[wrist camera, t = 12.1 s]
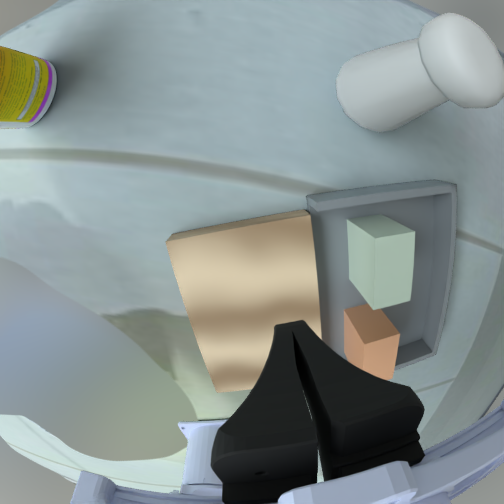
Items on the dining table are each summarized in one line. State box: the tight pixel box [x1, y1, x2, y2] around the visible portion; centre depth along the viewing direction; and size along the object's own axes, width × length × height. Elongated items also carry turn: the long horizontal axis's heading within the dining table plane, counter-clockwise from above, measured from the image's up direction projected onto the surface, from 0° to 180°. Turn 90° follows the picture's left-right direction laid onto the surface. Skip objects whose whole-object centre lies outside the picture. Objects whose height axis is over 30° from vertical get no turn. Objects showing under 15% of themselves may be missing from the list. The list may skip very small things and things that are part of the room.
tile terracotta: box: [344, 304, 400, 380], centre depth 21 cm, size 5×5×3 cm
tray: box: [306, 180, 457, 370], centre depth 21 cm, size 17×12×3 cm
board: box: [166, 210, 322, 393], centre depth 22 cm, size 15×10×2 cm, turn 10°
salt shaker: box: [336, 13, 504, 133], centre depth 11 cm, size 6×6×13 cm
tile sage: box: [347, 214, 415, 310], centre depth 18 cm, size 5×5×3 cm
